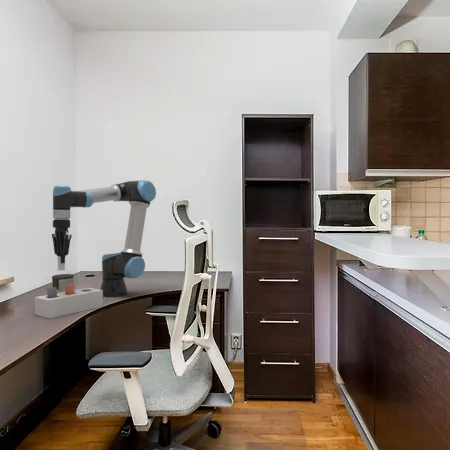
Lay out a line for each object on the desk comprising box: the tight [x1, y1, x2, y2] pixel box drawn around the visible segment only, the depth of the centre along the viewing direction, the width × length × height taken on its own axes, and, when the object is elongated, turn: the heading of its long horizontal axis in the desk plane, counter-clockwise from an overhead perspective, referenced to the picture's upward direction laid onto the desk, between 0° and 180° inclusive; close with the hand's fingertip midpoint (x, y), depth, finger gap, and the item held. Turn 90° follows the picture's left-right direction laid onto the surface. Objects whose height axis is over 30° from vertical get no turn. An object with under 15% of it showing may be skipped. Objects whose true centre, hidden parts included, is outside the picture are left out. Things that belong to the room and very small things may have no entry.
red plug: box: [65, 284, 75, 295], centre depth 194 cm, size 4×4×7 cm
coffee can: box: [51, 273, 75, 293], centre depth 210 cm, size 10×10×14 cm
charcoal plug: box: [46, 287, 57, 298], centre depth 187 cm, size 4×4×7 cm
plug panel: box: [34, 287, 104, 320], centre depth 195 cm, size 28×12×8 cm, turn 143°
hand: (61, 270), depth 191 cm, fingers closed
